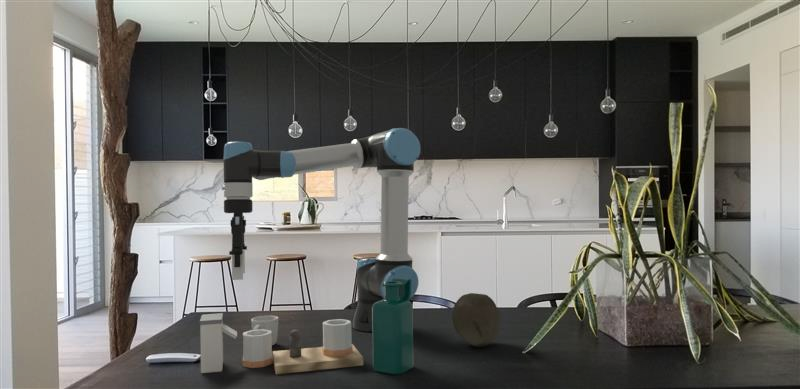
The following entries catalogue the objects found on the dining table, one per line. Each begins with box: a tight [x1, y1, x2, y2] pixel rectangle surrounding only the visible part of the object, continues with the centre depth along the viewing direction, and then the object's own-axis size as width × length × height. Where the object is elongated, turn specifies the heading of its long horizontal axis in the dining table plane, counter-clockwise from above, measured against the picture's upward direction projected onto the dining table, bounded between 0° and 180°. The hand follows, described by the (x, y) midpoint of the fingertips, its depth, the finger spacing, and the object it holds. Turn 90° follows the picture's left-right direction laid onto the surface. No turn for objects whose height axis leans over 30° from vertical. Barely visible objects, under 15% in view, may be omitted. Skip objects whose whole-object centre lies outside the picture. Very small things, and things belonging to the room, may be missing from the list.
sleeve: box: [242, 329, 274, 369], centre depth 144 cm, size 8×8×8 cm
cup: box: [250, 315, 280, 346], centre depth 161 cm, size 11×8×8 cm
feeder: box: [199, 312, 238, 374], centre depth 142 cm, size 9×8×13 cm
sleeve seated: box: [321, 318, 353, 357], centre depth 146 cm, size 8×8×8 cm
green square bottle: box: [371, 278, 414, 376], centre depth 138 cm, size 10×8×22 cm
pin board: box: [272, 329, 364, 375], centre depth 145 cm, size 22×14×9 cm, turn 106°
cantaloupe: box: [451, 292, 501, 348], centre depth 158 cm, size 14×14×15 cm
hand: (238, 276), depth 150 cm, fingers open, 13 cm apart
